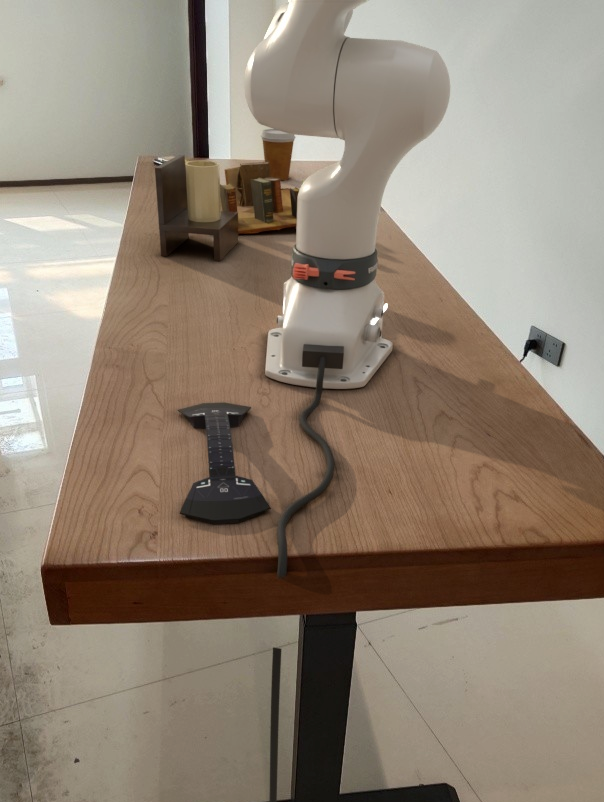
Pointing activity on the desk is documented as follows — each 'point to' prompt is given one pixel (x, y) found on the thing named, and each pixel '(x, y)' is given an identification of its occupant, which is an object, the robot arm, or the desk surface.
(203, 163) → the cup
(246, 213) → the book stand
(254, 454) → the desk surface
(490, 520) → the desk surface
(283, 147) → the disposable coffee cup
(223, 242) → the dark grey toy chair
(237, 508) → the dark piece
